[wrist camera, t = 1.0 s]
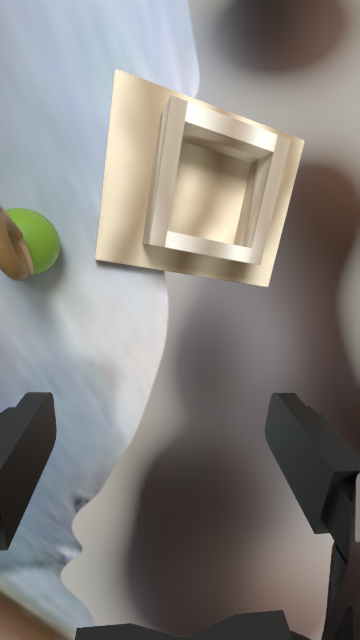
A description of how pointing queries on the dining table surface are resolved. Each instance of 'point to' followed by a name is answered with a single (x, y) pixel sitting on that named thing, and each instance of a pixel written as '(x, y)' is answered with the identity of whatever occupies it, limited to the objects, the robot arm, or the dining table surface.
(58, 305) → the dining table surface
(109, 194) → the wooden box tray
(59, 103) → the dining table surface
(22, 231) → the snail figurine
